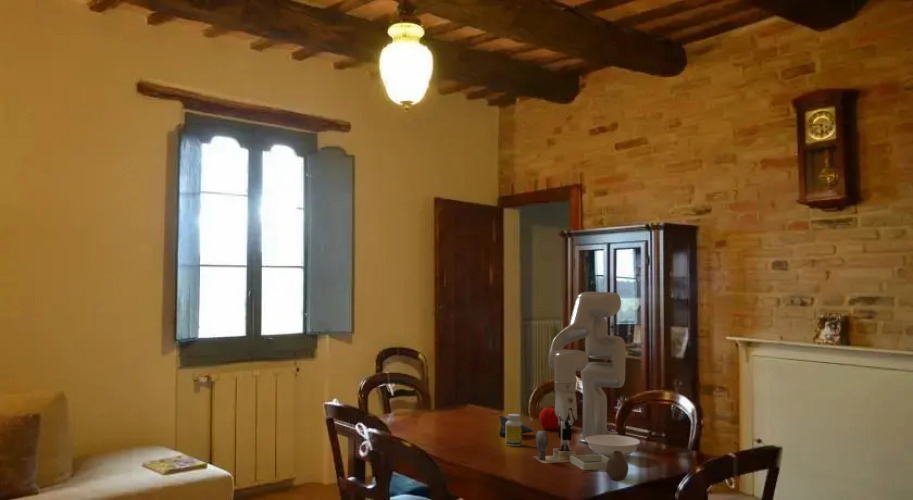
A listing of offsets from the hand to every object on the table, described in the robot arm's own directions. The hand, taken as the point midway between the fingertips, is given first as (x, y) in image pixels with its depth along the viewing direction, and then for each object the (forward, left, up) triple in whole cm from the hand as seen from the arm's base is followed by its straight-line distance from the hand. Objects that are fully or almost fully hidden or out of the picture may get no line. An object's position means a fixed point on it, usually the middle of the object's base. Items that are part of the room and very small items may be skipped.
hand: (564, 438), depth 278 cm
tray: (-6, +11, -8) cm, 15 cm away
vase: (-8, +26, -8) cm, 29 cm away
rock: (+3, -48, -8) cm, 48 cm away
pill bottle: (+9, -30, -8) cm, 32 cm away
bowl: (-20, -3, -8) cm, 21 cm away
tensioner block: (+3, 0, -8) cm, 9 cm away
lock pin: (0, 0, -5) cm, 5 cm away
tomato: (-18, -59, -8) cm, 62 cm away
